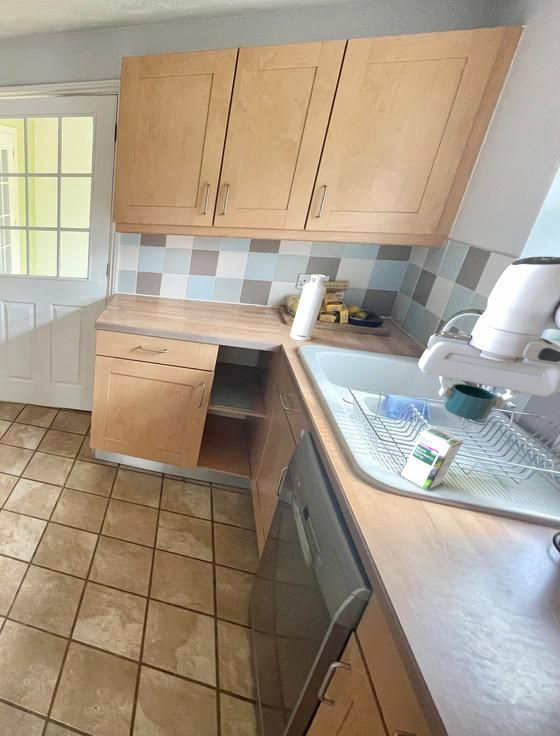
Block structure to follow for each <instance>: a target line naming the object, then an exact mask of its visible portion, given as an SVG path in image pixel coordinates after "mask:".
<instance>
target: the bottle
mask: <svg viewBox="0 0 560 736" xmlns="http://www.w3.org/2000/svg"><path fill="white" fill-rule="evenodd" d="M325 279H326V276H325V275H323V274H319V273H313V274H311V277H310V281H309V282H307V283H305V284H304V285H303V288H302V291H301V294H300V295H301V296H300V299H299V302H298V306H297V310H296V313H295V317H294V319H293V320H294V321H293V323H292V326H291V331H290V334H289V337H290V338H292V339H294V340H297V341H303V342H309V341H311V340H312V335H313V333H314V331H315V326H316V323H317V320H318V317H319V314H320V311H321V307H322V304H323V301H324V297H325V294H326V291H327V287H326V286H325V285H324V283H325V282H324V281H325Z"/></svg>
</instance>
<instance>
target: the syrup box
mask: <svg viewBox="0 0 560 736" xmlns="http://www.w3.org/2000/svg"><path fill="white" fill-rule="evenodd" d="M464 441H465V439H464V438H461V437H459V436H456V435H454V434H452V433H450V432H448V431H445V430H443V429H441V428H439V427H438V426H434V427H433V426H432V427H429V428H426V429H424V430H422V431H421V432H420V434H419V437H418V438H417V440H416V442H415V445H414V447H413V449H412V450H411V453H410V456H409V458H408V460H407V462H406V464H405V466H404V468H403V470H402V472H401V474H400V475H401V476H402V477H404V478H406V479H407V480H409V481H411V482H412V483H413V484H416V485H417V486H418V487H421V488H422V489H424V490H426V491H428V490H430V489H433V488H435V487H437V486H439V485H441V484H442V481H443V480H444V478H445V476H446V474H447V473H448V470H449V468H450V467H451V465H452V463H453V461H454V459H455V458H456V456H457V454H458V452H459V450H460V448H461V447H462V445H463V443H464Z"/></svg>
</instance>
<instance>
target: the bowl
mask: <svg viewBox="0 0 560 736" xmlns="http://www.w3.org/2000/svg"><path fill="white" fill-rule="evenodd" d="M450 388H451V390H452V391H453V392H452V394H451V396H450V398H448V397H445V399H444V401H443V406H444V408H445V410H446V411H448V413H451V414H452V415H455V416H457V417H460V418H462V419H468V420H471V421H472V420H473V421H481V420H486V419H487V418H488V416H489V415H490V412H491V411H492V409H493V408H494V407H493V405H494V404H495V402H496V400H497V397H498V396H497V395H496V394H495V393H493V392H492V391H490V390H487V389H485V388H482V387H479V386H476V385H472V384H467V383H454V384H452V385H451V387H450Z"/></svg>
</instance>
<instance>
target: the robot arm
mask: <svg viewBox="0 0 560 736" xmlns="http://www.w3.org/2000/svg"><path fill="white" fill-rule="evenodd" d="M546 330H555V331H560V257H559V256H558V257H557V256H531V257H525V258H520V259H517V260H515V261H513V262H512V263H510V265H508V266H507V267H506V268H505V270H504V271H503V273H502V274H501V275H500V277H499V278H498V280H497V282H496V283H495V285H494V286H493V289H492V291H491V292H490V294H489V296H488V298H487V306H486V309H485V310H484V312H483V313H482V314H481V315H480V316H479V318H478V319H477V321H476V323H475V325H474V327H473V329H472V331H471V333H470V334H464V333H455V332H451V331H441V332H436V333H434V334H431V335H430V337H429V338H428V340H427V343H426V349H425V350H424V352H423V353H422V355H421V357H420V358H419V360H418V364H417V365H418V367H419V369H420V370H421V372H422V373H423V374H426V375H432V376H436V377H438V379H439V384H440V386H441V387H440V389H439V390H438V395H439V397H443V398H446V397H448V398H450V396H451V394H452V392H453V391H452V390H451V387H449V386H448V384H447V383H451V381H452V380H457V381H462V382H466V383H467V382H468V383H472V384H477V385H482V386H487V387H491V388H492V387H493V388H497V389H503V390H505V391H506V393H504V394H501V396H499V397H498V396H497V400H496V402H495V404H494V405H493V407H492V408H495V409H499V410H503V409H504V408H505V405H506V404H507V403H509V402H511V401H514V400H515V399H517V398H519V397H520V395H521V393H523V394H527V395H532V396H533V395H534V396H537V397H543V398H549V397H552V396H554V395H556V394H557V393H558V391H560V345H559V344H557V343H555V342H553V341H551V340H548V339H546V338H543V337H542V336H543V334H544V332H545V331H546Z"/></svg>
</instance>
